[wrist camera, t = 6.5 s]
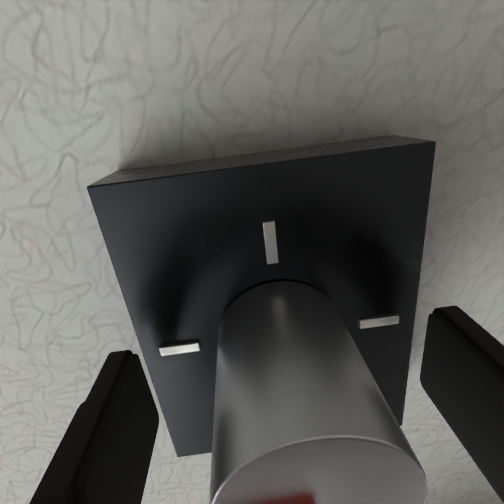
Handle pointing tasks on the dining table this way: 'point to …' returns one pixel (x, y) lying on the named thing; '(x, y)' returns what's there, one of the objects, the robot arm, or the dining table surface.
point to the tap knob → (302, 409)
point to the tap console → (267, 256)
